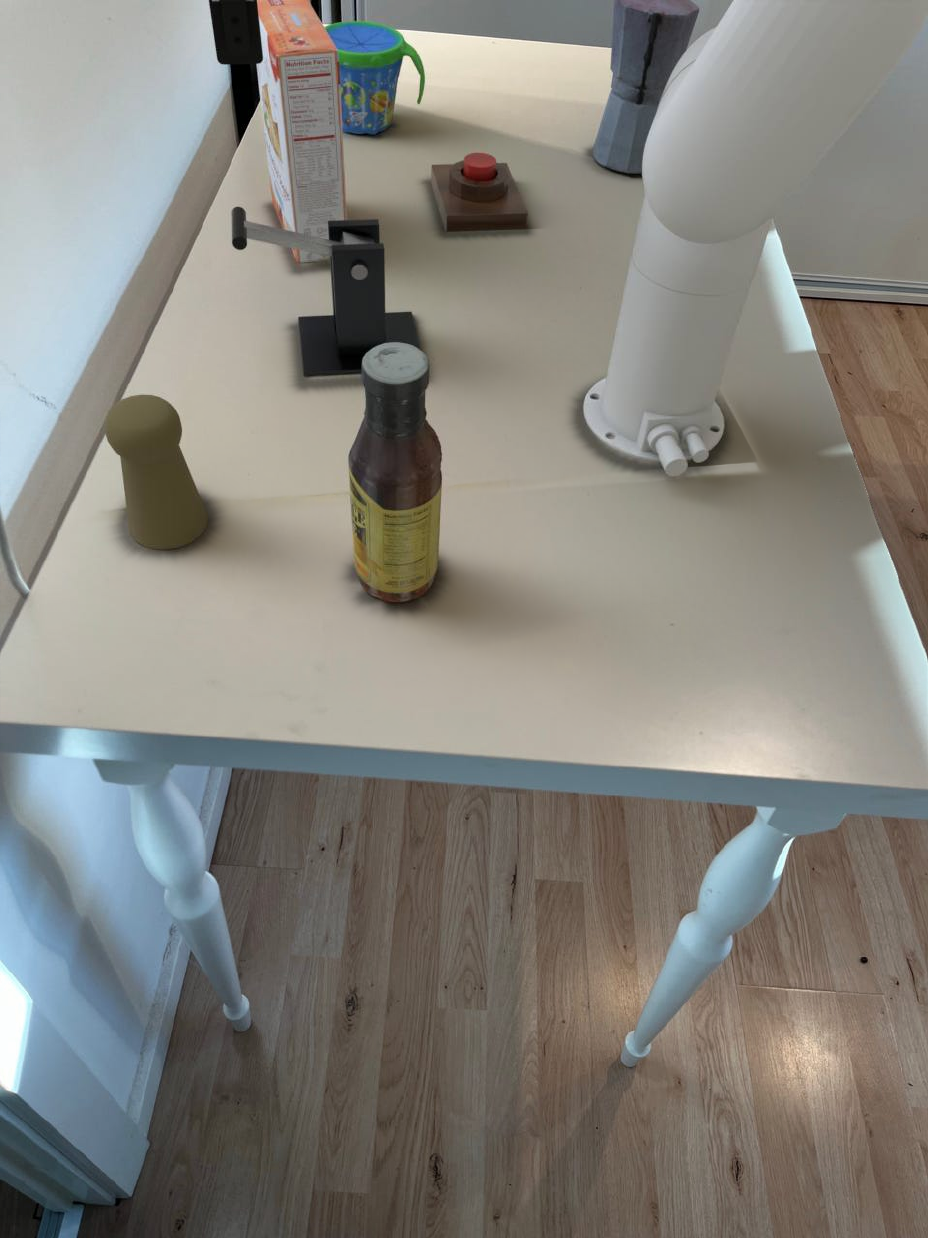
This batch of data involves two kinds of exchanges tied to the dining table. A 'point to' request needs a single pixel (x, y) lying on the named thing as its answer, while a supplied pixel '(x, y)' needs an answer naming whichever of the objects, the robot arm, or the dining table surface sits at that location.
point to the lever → (285, 236)
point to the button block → (477, 200)
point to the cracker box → (301, 119)
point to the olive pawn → (155, 473)
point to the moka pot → (640, 75)
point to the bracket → (353, 307)
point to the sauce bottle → (395, 477)
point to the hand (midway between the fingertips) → (238, 36)
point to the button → (479, 167)
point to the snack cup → (370, 73)
